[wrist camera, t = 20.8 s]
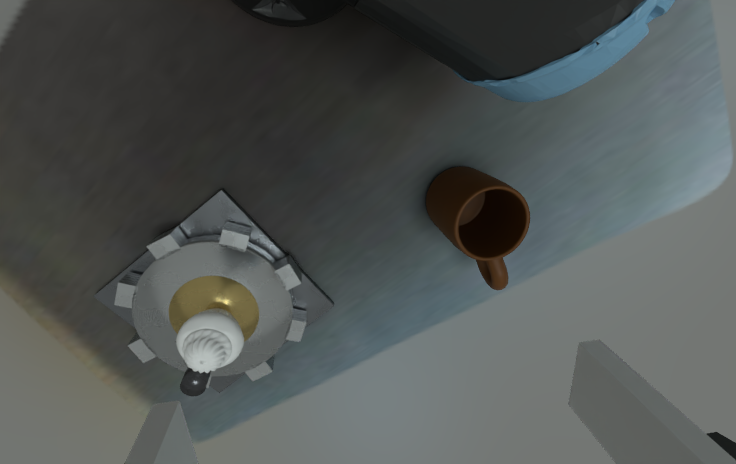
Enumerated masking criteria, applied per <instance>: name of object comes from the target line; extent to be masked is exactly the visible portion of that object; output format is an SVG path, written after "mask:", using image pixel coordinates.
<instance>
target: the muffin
mask: <svg viewBox="0 0 736 464" xmlns="http://www.w3.org/2000/svg"><path fill="white" fill-rule="evenodd" d="M176 344H177V349H178V351H179V353H180V355H181V356H182V358H183V359H184V360H185V362H186V363H187V366H188V367H189V368H192V370H193V371H199V373H203V372H206V373H209V371H210V370H211V371H215V370H216V369H217V368H221V367H223V366H226V365H228V364H230V363H231V362H233V361H234V360H235V359H236V358H237V357H238V355H239V354H240V352H241V350H242V348H243V345H244V336H243V333H242V330H241V327H240V325H239V324H238V322H237V320H236V319H235V318H234V317H233V316H232V314H231V313H229V312H228V311H226V310H223V309H220V308H215V309H214V308H213V309H209V310H205V311H202V312H199V313H198V314H195V315H194V316H192V317H191V318H189V319H188V320H187V321H186V322H185V323H184V324H183V325H182V327H181V328H180V330H179V332H178V334H177V338H176Z"/></svg>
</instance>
